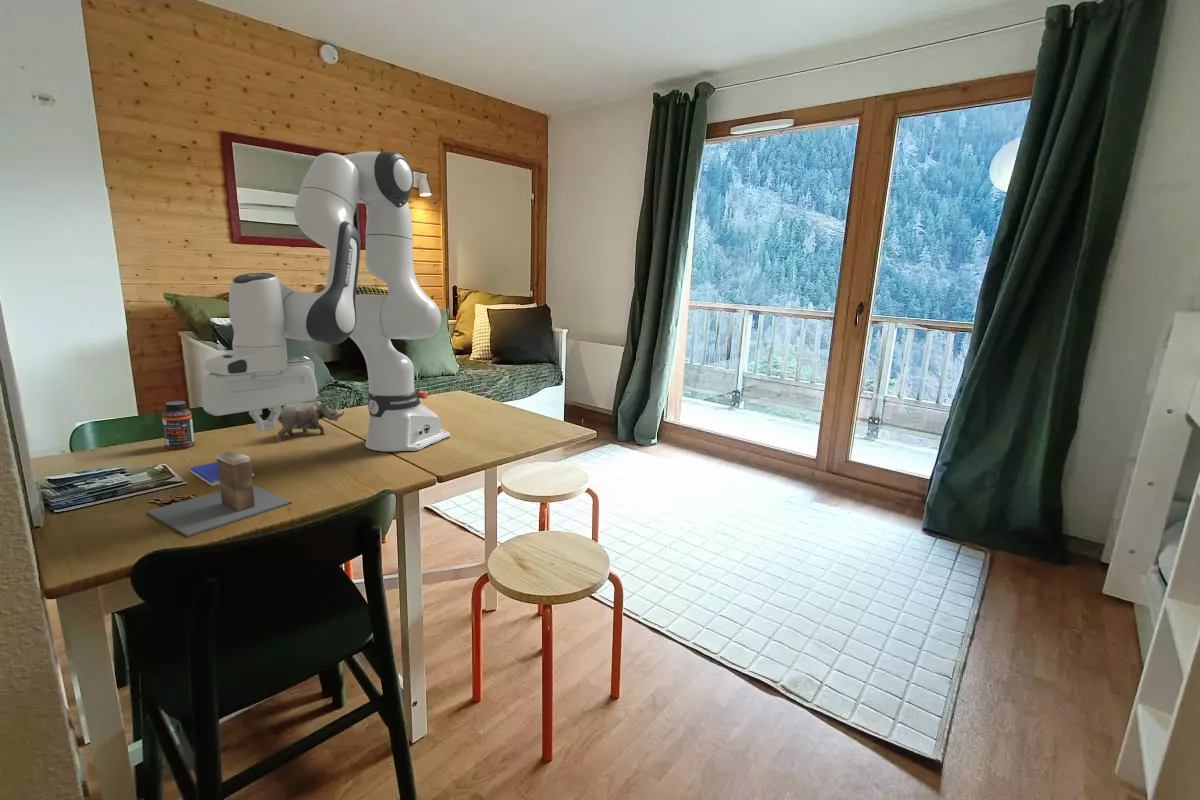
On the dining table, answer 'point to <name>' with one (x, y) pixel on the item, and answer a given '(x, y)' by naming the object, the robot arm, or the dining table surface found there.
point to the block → (235, 480)
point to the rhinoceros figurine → (304, 417)
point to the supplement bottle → (177, 426)
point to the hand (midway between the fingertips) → (266, 429)
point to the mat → (212, 511)
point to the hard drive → (208, 473)
